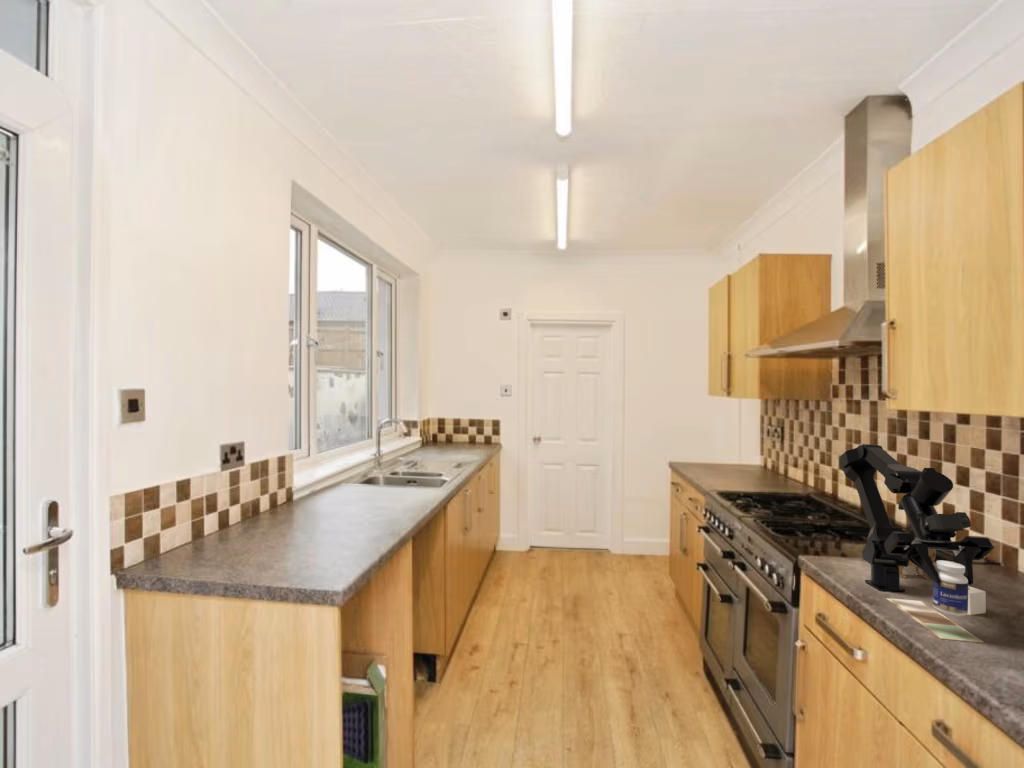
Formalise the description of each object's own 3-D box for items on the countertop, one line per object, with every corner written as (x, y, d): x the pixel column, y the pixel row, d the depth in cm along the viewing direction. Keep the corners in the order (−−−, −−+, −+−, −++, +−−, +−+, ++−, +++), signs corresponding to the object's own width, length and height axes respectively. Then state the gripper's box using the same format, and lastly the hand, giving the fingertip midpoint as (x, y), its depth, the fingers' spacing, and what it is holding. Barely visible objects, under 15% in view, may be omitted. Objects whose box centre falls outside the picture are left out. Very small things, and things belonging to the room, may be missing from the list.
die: (946, 606, 122) (946, 585, 122) (961, 604, 123) (961, 583, 123) (970, 615, 117) (970, 593, 117) (985, 613, 118) (985, 591, 118)
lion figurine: (925, 572, 146) (924, 540, 146) (942, 579, 140) (942, 546, 141) (877, 573, 144) (877, 541, 145) (892, 580, 139) (892, 546, 139)
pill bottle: (940, 614, 106) (940, 566, 106) (927, 603, 112) (927, 558, 112) (974, 618, 105) (974, 569, 105) (959, 607, 110) (959, 560, 110)
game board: (886, 599, 126) (886, 598, 126) (921, 601, 124) (921, 600, 124) (940, 638, 105) (940, 637, 105) (983, 642, 104) (983, 641, 104)
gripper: (891, 495, 114) (920, 561, 103) (988, 499, 110) (1028, 568, 99) (873, 521, 122) (898, 585, 111) (963, 526, 118) (998, 593, 107)
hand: (954, 582), depth 107 cm, fingers closed on pill bottle, 6 cm apart
